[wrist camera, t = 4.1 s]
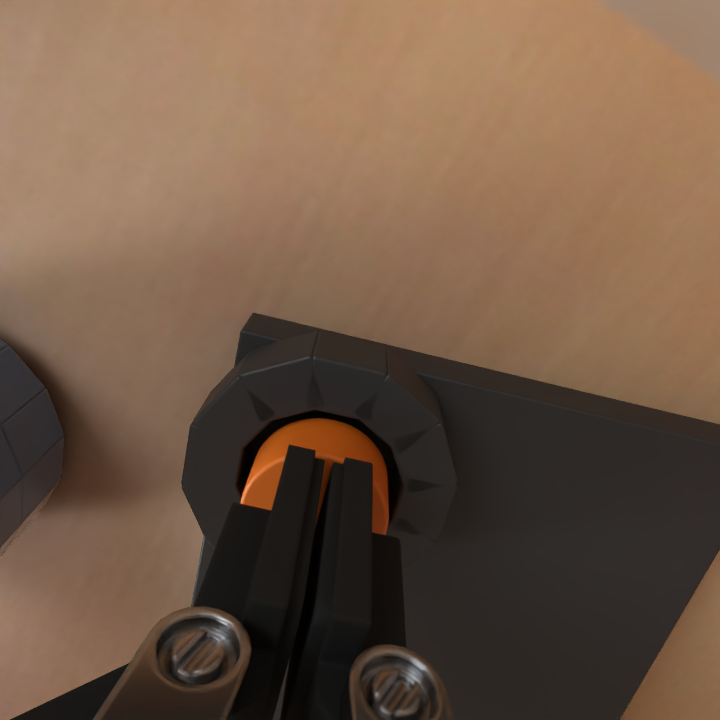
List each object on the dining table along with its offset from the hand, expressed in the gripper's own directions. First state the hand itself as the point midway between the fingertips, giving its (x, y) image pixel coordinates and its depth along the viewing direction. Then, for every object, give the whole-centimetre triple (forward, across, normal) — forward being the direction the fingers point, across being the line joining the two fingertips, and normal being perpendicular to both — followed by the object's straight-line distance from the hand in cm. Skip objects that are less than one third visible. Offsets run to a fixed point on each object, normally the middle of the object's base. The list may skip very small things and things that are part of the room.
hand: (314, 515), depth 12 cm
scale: (+4, -4, +6) cm, 8 cm away
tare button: (+2, 0, 0) cm, 2 cm away
